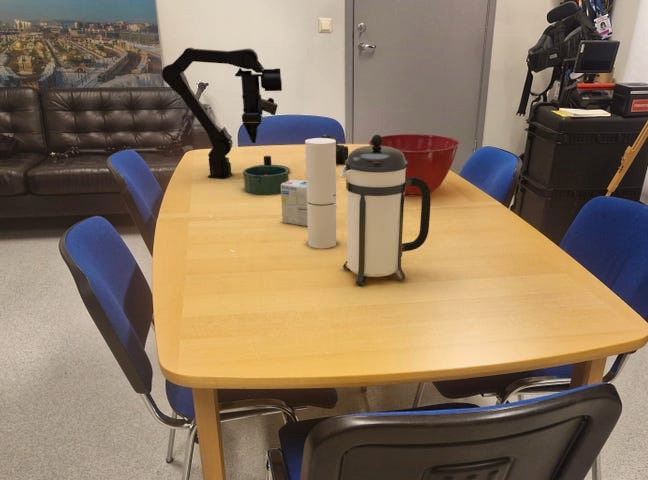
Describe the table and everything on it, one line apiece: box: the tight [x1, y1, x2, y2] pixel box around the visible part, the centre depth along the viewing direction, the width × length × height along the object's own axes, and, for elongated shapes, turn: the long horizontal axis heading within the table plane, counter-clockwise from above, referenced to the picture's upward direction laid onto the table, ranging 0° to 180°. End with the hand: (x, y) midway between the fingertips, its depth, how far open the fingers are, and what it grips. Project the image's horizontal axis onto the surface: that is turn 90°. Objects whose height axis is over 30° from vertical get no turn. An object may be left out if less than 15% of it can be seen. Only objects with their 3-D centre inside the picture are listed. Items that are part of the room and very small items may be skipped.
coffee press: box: [339, 134, 432, 287], centre depth 134 cm, size 17×16×30 cm
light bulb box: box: [280, 178, 308, 227], centre depth 172 cm, size 11×7×11 cm, turn 65°
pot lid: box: [248, 155, 291, 173], centre depth 224 cm, size 15×15×6 cm
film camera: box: [320, 134, 350, 165], centre depth 237 cm, size 18×12×10 cm
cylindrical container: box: [304, 137, 337, 249], centre depth 152 cm, size 7×7×25 cm
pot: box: [242, 165, 290, 196], centre depth 204 cm, size 14×20×6 cm
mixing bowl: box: [368, 133, 460, 197], centre depth 201 cm, size 28×28×15 cm
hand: (254, 140), depth 215 cm, fingers open, 9 cm apart
